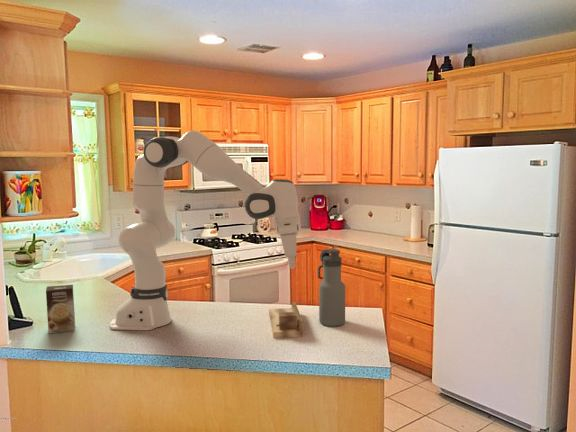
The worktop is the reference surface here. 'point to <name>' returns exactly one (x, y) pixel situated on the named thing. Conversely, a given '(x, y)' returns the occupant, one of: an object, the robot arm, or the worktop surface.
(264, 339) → the worktop surface
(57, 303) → the coffee box
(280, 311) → the board
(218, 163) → the robot arm
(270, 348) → the worktop surface
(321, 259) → the water bottle
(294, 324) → the brown block
